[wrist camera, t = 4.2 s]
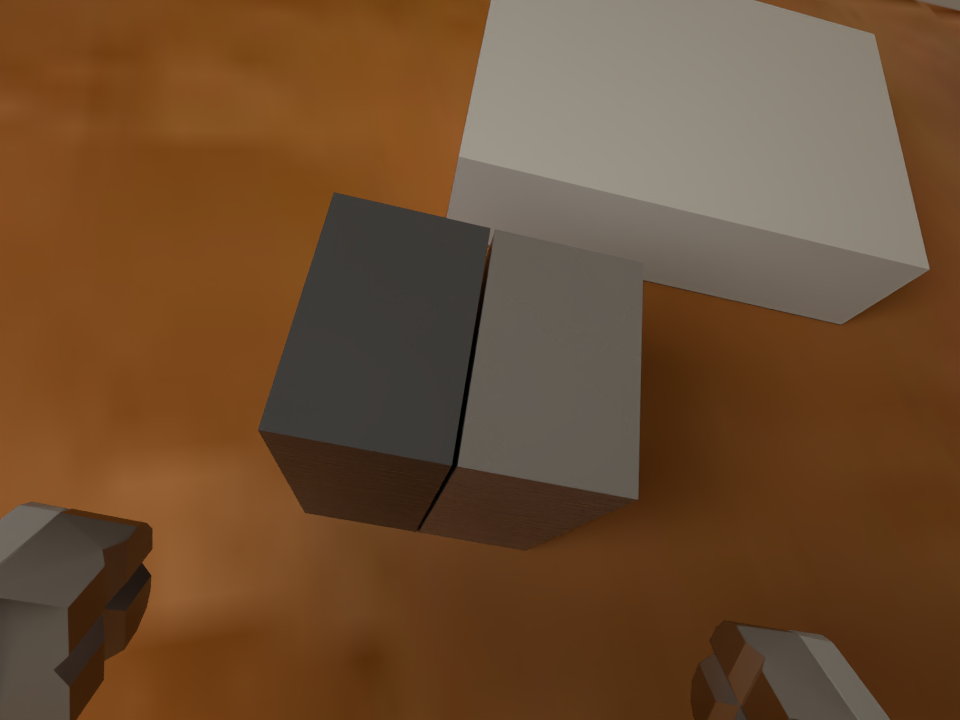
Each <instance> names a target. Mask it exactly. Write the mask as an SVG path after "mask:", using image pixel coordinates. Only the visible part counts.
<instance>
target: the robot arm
mask: <svg viewBox="0 0 960 720" xmlns="http://www.w3.org/2000/svg"><path fill="white" fill-rule="evenodd" d="M151 550H152V528H151V527H150V526H149V525H148V524H147V523H144V522H139V521H133V520H128V519H123V518H118V517H113V516H107V515H102V514H97V513H92V512H87V511H81V510H76V509H67V508H62V507H57V506H52V505H46V504H41V503H36V502H29V503H26V504H22V505H19V506H17V507H16V508H15V509H13V510H12V511H11V512H9V513H8V514H7V515H6V516H4V517H3V518H2V519H1V520H0V720H76V719H77V718H78V717H79V715H80V714H81V712H82V711H83V709H84V708H85V706H86V705H87V703H88V702H89V701H90V699H91V698H92V696H93V695H94V693H95V692H96V690H97V689H98V687H99V686H100V685H101V683H102V682H103V680H104V661H105V660H107V659H109V658H110V657H112V656H114V655H116V654H118V653H119V652H121V651H123V650H124V649H125V648H126V646H127V645H128V643H129V642H130V640H131V639H132V637H133V636H134V634H135V632H136V631H137V629H138V626H139V624H140V622H141V619H142V617H143V615H144V613H145V610H146V608H147V603H148V599H149V595H150V589H151V575H150V573H149V572H148V570H147V569H146V568H145V566H144V565H143V564H142V562H143V561H144V559H145V558H146V557H147V555H148V554H149V553H150V551H151ZM710 643H711V646H712V649H713V651H714V653H713V654H712V655H710V656H709V657H707V658H706V659H704V660H703V661H701V662H700V663H699V664H698V667H697V669H696V672H695V674H694V677H693V679H692V686H691V705H692V710H693V716H694V719H695V720H890V718H889V717H888V716H887V714H886V713H885V712H884V710H883V709H882V708H881V706H880V705H879V704H878V702H877V701H876V700H875V698H874V697H873V696H872V694H871V693H870V692H869V690H868V689H867V688H866V686H865V685H864V684H863V682H862V681H861V680H860V678H859V677H858V676H857V674H856V673H855V672H854V670H853V669H852V668H851V666H850V665H849V664H848V662H847V661H846V660H845V658H844V657H843V656H842V654H841V653H840V652H839V650H838V649H837V648H836V646H835V645H834V644H833V642H831V641H830V640H829V639H827V638H826V637H824V636H823V635H821V634H814V633H807V632H800V631H793V630H788V631H786V630H781V629H775V628H769V627H763V626H757V625H750V624H744V623H738V622H732V621H725V620H724V621H723V622H721V623H720V624H719V625H718V626H717V627H716V628H715V630H714V632H713V634H712V636H711V638H710Z"/></svg>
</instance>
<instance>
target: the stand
mask: <svg viewBox="0 0 960 720" xmlns="http://www.w3.org/2000/svg"><path fill="white" fill-rule="evenodd" d="M447 218H448V219H453V220H457V221H461V222H466V223H470V224H474V225H479V226H483V227H488V228H491V229H490V235H489V241H488V245H490V244H491V241H492V237H493V234H494V231H495V229H497V230H501V231H506V232H510V233H515V234H519V235H523V236H528V237H532V238H536V239H541V240H545V241H550V242H554V243H558V244H563V245H567V246H571V247H576V248H580V249H585V250H589V251H593V252H598V253H602V254H607V255H611V256H615V257H620V258H624V259H628V260H633V261H637V262H642V263H643V280H645V281H650V282H654V283H658V284H663V285H667V286H672V287H676V288H681V289H685V290H690V291H694V292H698V293H703V294H707V295H712V296H716V297H721V298H725V299H729V300H734V301H738V302H743V303H747V304H752V305H756V306H761V307H765V308H769V309H774V310H778V311H783V312H787V313H792V314H796V315H800V316H805V317H809V318H814V319H818V320H823V321H827V322H832V323H836V324H840V325H842V324H843V323H845V322H846V321H848V320H850V319H851V318H853V317H855V316H856V315H858V314H859V313H861V312H863V311H864V310H866V309H867V308H869V307H871V306H872V305H874V304H875V303H877V302H879V301H880V300H882V299H883V298H885V297H887V296H888V295H890V294H891V293H893V292H895V291H896V290H898V289H899V288H901V287H903V286H904V285H906V284H907V283H909V282H911V281H912V280H914V279H915V278H917V277H919V276H920V275H922V274H923V273H925V272H927V271H928V270H930V269H929V264H928V260H927V256H926V252H925V247H924V243H923V239H922V235H921V230H920V226H919V222H918V218H917V213H916V209H915V205H914V201H913V196H912V192H911V188H910V184H909V179H908V175H907V171H906V167H905V162H904V158H903V154H902V150H901V145H900V141H899V137H898V133H897V128H896V124H895V120H894V116H893V111H892V107H891V103H890V99H889V94H888V90H887V86H886V82H885V77H884V73H883V69H882V65H881V60H880V56H879V52H878V48H877V43H876V39H875V35H874V34H872V33H868V32H865V31H861V30H858V29H854V28H851V27H847V26H844V25H840V24H837V23H833V22H830V21H826V20H822V19H819V18H815V17H812V16H808V15H805V14H801V13H798V12H794V11H791V10H787V9H784V8H780V7H776V6H773V5H769V4H766V3H762V2H759V1H755V0H491V3H490V8H489V13H488V18H487V23H486V27H485V32H484V37H483V42H482V47H481V52H480V56H479V61H478V66H477V71H476V76H475V81H474V85H473V90H472V95H471V100H470V105H469V110H468V114H467V119H466V124H465V129H464V134H463V139H462V143H461V148H460V153H459V158H458V163H457V168H456V173H455V178H454V183H453V188H452V193H451V198H450V203H449V208H448V213H447Z"/></svg>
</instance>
